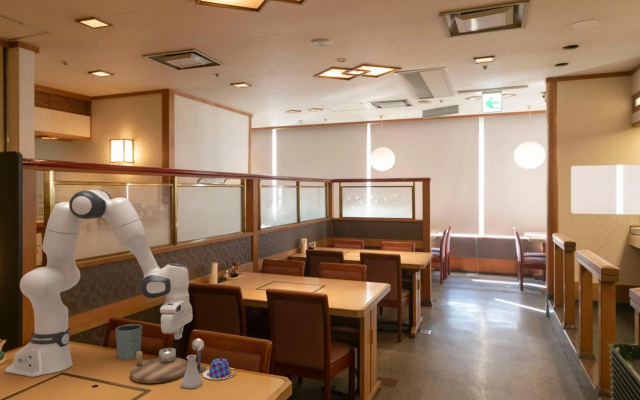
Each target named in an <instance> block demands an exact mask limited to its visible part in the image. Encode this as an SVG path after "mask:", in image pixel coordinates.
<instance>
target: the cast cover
mask: <svg viewBox="0 0 640 400" xmlns="http://www.w3.org/2000/svg"><path fill="white" fill-rule="evenodd" d="M176 351H177V349H176V348H174V347H165V348H161V349H160V350H159V351H158V355H159V356H158V358H159V363H162V364H168V363H172V362H174V361H176V358H177V357H176Z"/></svg>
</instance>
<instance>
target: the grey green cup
mask: <svg viewBox="0 0 640 400" xmlns="http://www.w3.org/2000/svg"><path fill="white" fill-rule="evenodd" d="M142 329H143V326H142V324H138V323H136V324H135V323H134V324H133V323H131V324H123V325H120V326H118V327H116V328H115V329H114V330H115V341H116V351H117V352H116V353H117V359H118V358H120V359H131V360H133V359H132V358H135V359H136V352H138V351H142V349H141V347H142ZM120 359H119V360H120Z"/></svg>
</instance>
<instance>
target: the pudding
mask: <svg viewBox="0 0 640 400" xmlns="http://www.w3.org/2000/svg"><path fill="white" fill-rule="evenodd" d="M230 368H231V369H234V368H232V367H230V365H229V360H228V359H226V358H215V359H213V360H211V363H210V366H209V369H207V370H204V371H203V372H202V376H203V377H204V378H205V379H209V380H214V379H215V380H218V379H221V378H222V379H221V380H224V379H229V378H232V376H230V375H231V373H230ZM207 373H209V374H208V375H209V376H207ZM229 374H230V375H229ZM236 374H237V372H236V373H235V374H234V375H236ZM227 375H229V376H230V377H228V376H227ZM234 375H233V376H234ZM226 376H227V378H226ZM224 377H225V378H224ZM213 378H214V379H213ZM217 378H218V379H217Z"/></svg>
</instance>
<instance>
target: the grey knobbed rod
mask: <svg viewBox="0 0 640 400" xmlns="http://www.w3.org/2000/svg"><path fill="white" fill-rule="evenodd" d="M204 346H205V342H204V340H203V339H201V338H199V337H198V338H196V339H194V340H192V342H191V348H192V350H193V351H195V352H196V366H197V369H198V372H199V374H203V373H204V372H205V371H206V369H207V366H204V365H201V350H203V348H204Z"/></svg>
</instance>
